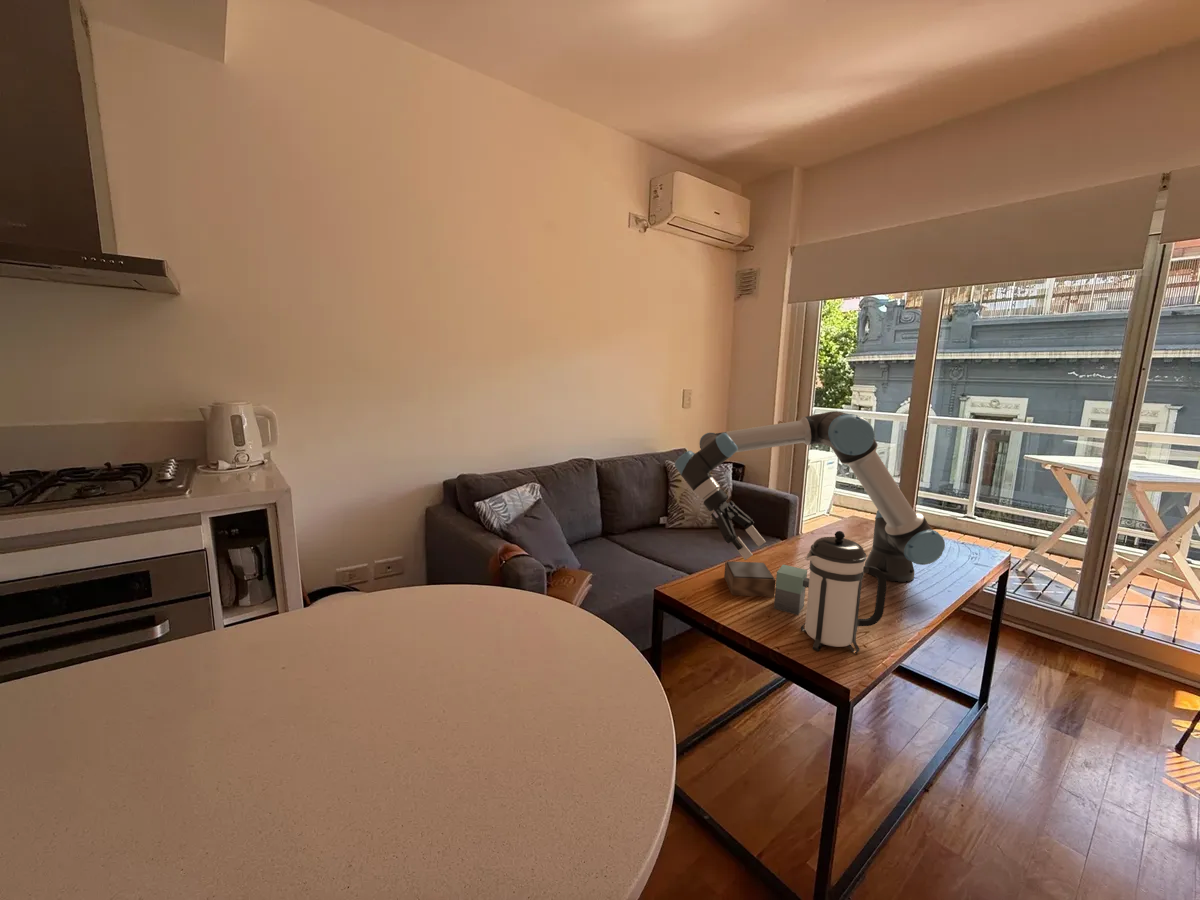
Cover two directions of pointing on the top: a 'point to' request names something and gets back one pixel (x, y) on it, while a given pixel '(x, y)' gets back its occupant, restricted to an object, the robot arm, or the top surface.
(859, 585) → the coffee press
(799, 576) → the lid
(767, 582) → the walnut stand
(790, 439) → the robot arm
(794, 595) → the base
